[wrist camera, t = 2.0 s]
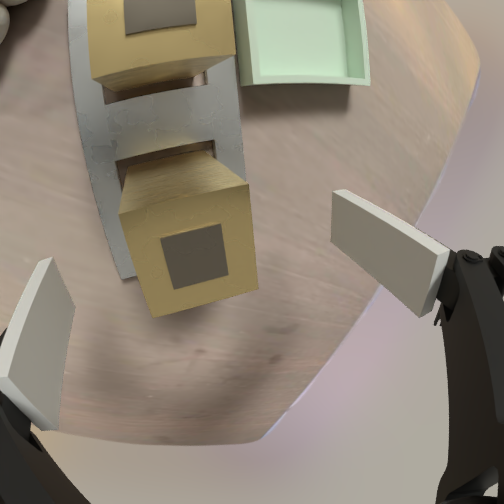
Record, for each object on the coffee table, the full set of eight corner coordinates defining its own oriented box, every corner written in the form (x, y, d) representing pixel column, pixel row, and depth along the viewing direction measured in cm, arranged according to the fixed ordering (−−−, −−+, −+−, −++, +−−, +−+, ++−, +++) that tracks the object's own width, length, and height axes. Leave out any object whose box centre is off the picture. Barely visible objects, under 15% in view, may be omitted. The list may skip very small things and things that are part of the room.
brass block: (144, 235, 20) (152, 320, 12) (128, 166, 17) (117, 215, 10) (212, 218, 21) (259, 290, 14) (202, 150, 19) (250, 184, 11)
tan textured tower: (115, 92, 15) (90, 78, 7) (108, 22, 12) (87, -39, 5) (193, 77, 16) (237, 53, 8) (187, 9, 13) (226, -56, 6)
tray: (240, 86, 17) (253, 84, 15) (229, -28, 13) (240, -41, 11) (350, 85, 20) (370, 85, 18) (340, -14, 15) (359, -21, 13)
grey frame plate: (121, 273, 20) (121, 279, 20) (70, 2, 10) (68, -2, 10) (248, 241, 23) (252, 245, 22) (222, -22, 13) (225, -27, 12)
